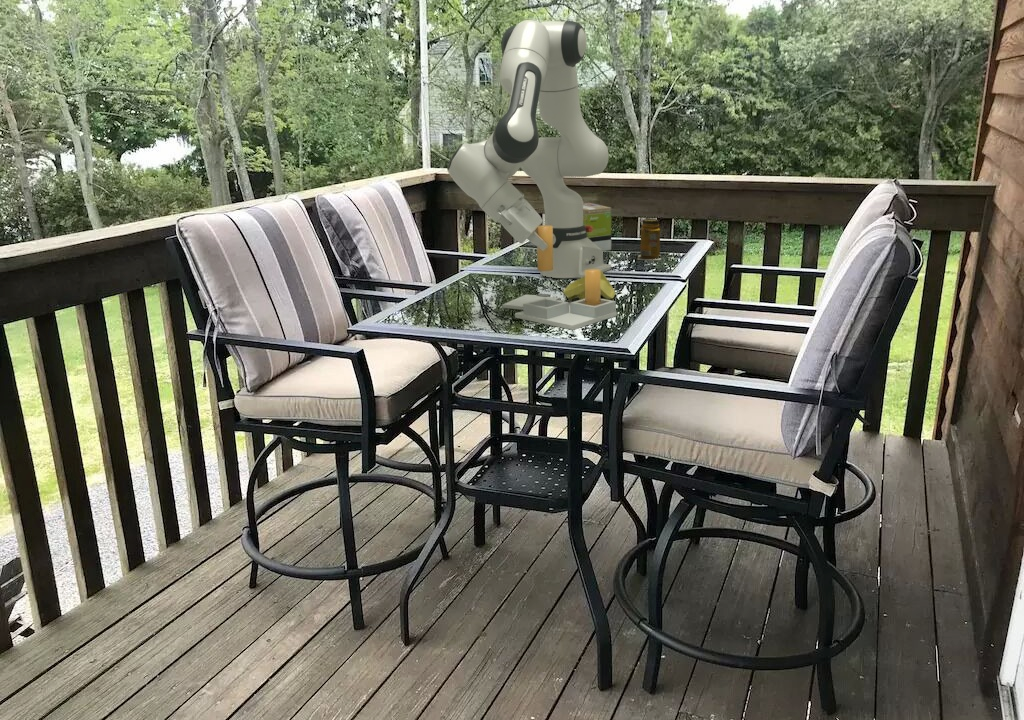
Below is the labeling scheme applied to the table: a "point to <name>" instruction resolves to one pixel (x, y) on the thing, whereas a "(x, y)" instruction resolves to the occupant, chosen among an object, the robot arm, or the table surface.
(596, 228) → the tea box
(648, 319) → the table surface
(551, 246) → the pin
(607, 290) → the plastic component
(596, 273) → the housing
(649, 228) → the condiment
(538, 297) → the lid
